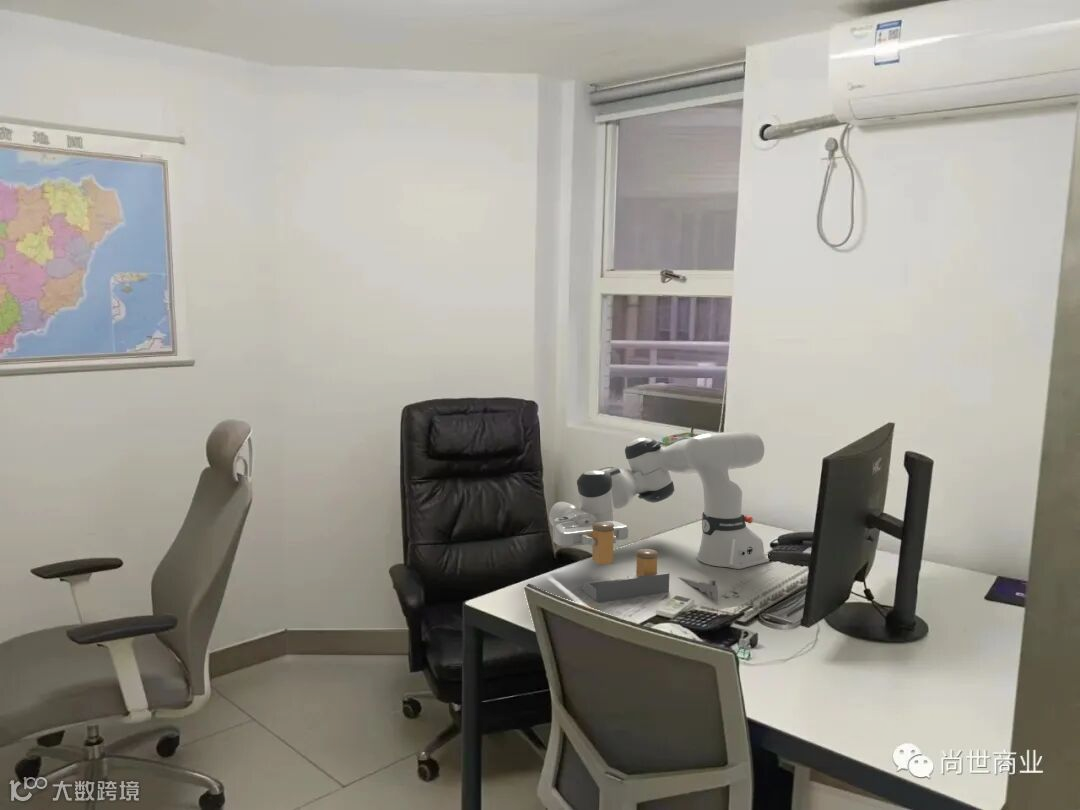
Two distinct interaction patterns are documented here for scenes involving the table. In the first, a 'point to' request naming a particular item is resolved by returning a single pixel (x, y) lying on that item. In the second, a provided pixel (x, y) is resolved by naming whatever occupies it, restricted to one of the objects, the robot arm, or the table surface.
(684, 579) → the caliper
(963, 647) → the table surface
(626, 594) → the housing
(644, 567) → the orange jar with lid
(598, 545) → the amber lidded jar
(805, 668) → the table surface
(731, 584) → the table surface
